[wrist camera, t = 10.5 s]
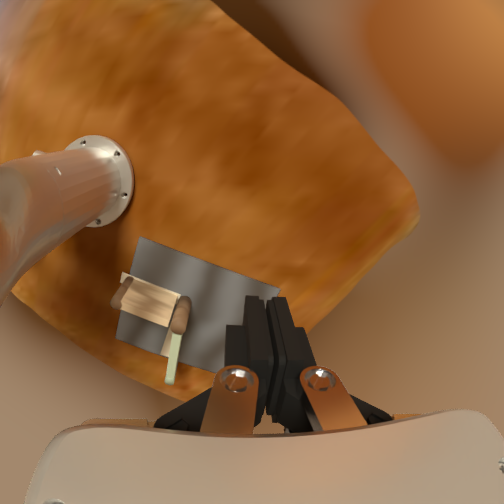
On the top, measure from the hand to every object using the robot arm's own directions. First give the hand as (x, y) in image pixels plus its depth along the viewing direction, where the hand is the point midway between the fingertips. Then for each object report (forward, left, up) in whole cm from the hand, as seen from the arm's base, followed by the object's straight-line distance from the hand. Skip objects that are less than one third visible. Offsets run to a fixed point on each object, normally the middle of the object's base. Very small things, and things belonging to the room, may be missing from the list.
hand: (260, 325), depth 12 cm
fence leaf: (-1, -23, -26) cm, 35 cm away
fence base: (-1, -20, -27) cm, 33 cm away
